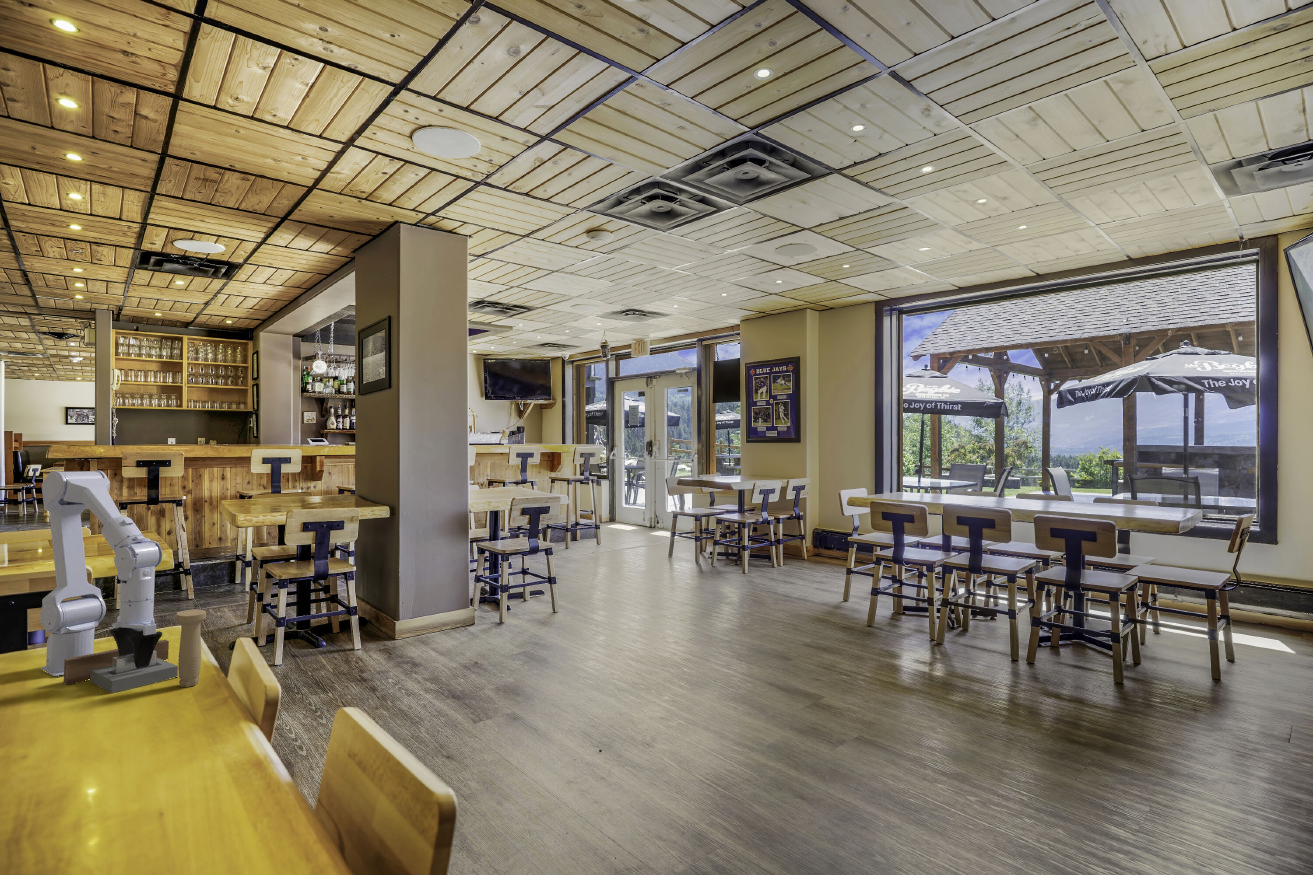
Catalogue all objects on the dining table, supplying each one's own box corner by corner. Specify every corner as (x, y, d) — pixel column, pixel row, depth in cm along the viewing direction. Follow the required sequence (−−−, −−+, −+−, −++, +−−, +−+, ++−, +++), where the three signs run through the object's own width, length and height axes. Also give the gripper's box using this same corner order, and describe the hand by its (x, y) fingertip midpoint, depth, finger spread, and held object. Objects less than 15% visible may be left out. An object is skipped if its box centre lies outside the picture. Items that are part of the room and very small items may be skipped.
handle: (179, 691, 133) (182, 617, 133) (170, 684, 137) (172, 612, 138) (207, 685, 137) (210, 613, 137) (197, 678, 141) (199, 608, 141)
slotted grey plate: (90, 682, 138) (90, 670, 138) (154, 667, 148) (154, 656, 148) (111, 693, 132) (112, 680, 132) (177, 677, 141) (177, 665, 141)
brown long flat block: (63, 683, 137) (64, 658, 137) (164, 661, 152) (165, 639, 153) (66, 684, 136) (67, 660, 136) (168, 662, 151) (168, 640, 151)
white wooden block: (111, 684, 137) (112, 657, 137) (151, 674, 143) (152, 649, 143) (115, 686, 136) (116, 659, 136) (155, 676, 142) (156, 651, 142)
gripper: (100, 598, 141) (98, 662, 140) (128, 607, 133) (125, 675, 133) (140, 592, 147) (137, 654, 146) (168, 601, 139) (166, 665, 138)
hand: (134, 663), depth 140 cm, fingers open, 7 cm apart
